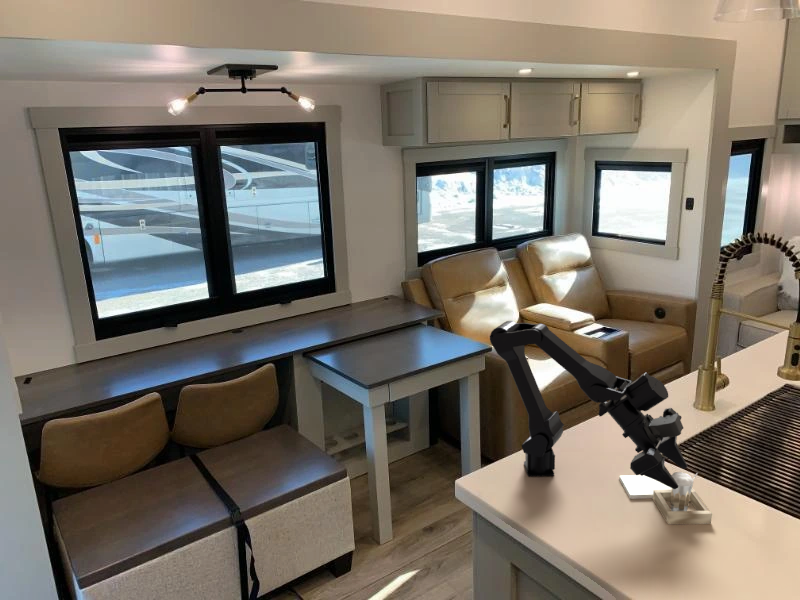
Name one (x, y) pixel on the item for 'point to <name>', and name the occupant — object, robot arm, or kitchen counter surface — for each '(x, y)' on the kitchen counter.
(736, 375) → the kitchen counter surface
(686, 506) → the milkshake
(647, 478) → the pad
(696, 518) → the holder
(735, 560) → the kitchen counter surface
